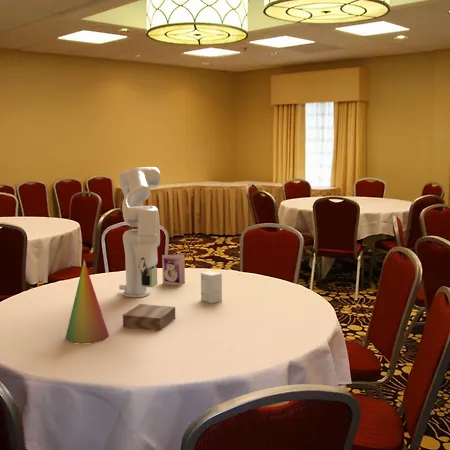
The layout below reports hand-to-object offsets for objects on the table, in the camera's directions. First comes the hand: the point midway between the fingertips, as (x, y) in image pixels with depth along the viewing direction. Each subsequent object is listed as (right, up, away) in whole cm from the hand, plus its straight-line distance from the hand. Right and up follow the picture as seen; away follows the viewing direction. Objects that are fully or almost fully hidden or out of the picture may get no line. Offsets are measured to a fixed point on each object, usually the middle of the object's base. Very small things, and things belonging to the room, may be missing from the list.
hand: (148, 283), depth 235 cm
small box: (+24, -12, +35) cm, 44 cm away
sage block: (0, -1, 0) cm, 1 cm away
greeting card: (+5, -7, +66) cm, 67 cm away
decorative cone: (-22, -19, -14) cm, 32 cm away
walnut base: (0, -16, +3) cm, 17 cm away
